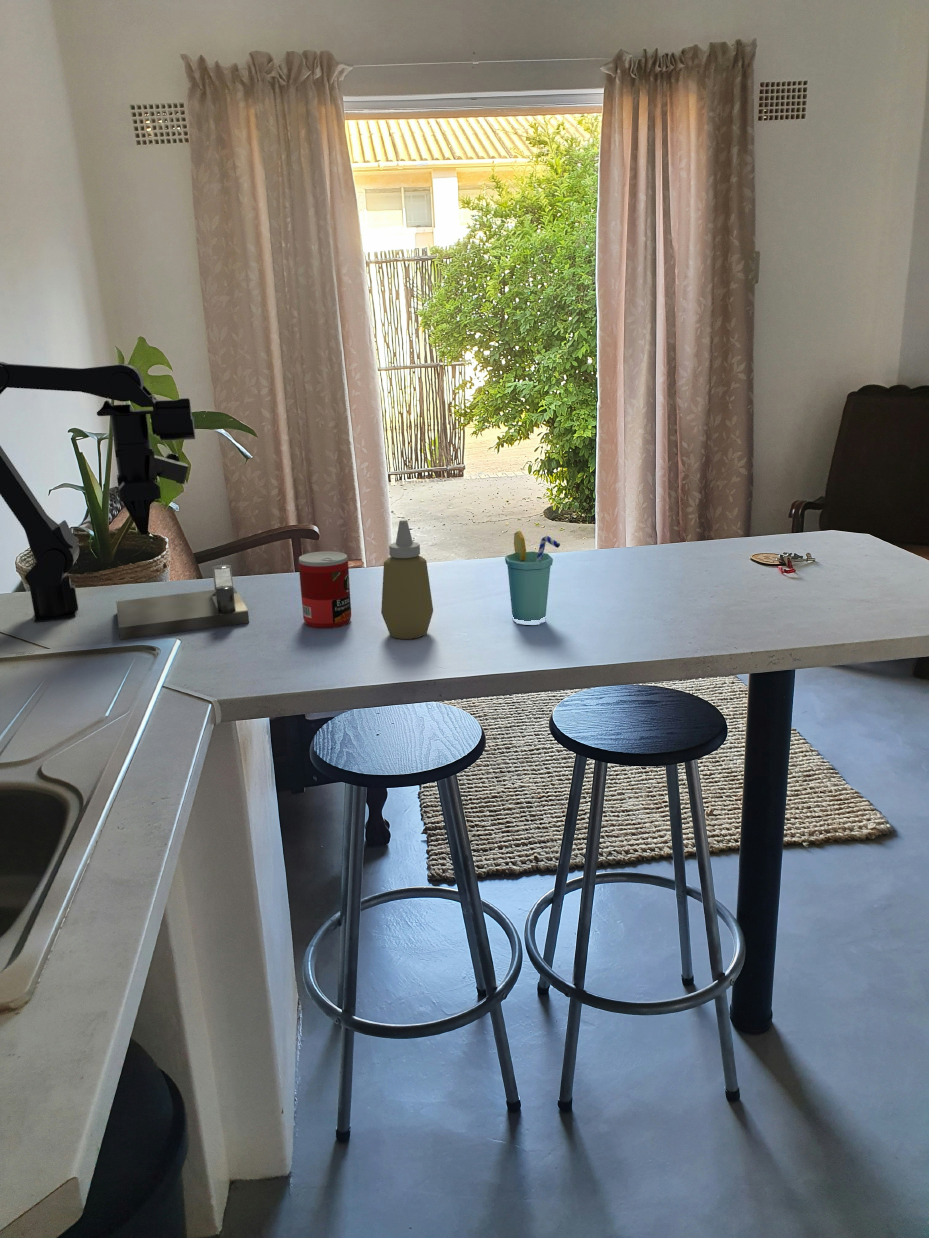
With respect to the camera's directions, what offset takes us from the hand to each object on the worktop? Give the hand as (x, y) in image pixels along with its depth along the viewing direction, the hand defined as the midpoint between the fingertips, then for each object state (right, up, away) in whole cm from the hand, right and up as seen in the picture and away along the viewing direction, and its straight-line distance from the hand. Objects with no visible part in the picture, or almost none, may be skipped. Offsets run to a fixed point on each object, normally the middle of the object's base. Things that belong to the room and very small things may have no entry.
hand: (144, 534), depth 153 cm
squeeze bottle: (+46, -17, -14) cm, 51 cm away
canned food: (+33, -15, -7) cm, 36 cm away
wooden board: (+7, -14, -3) cm, 16 cm away
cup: (+66, -15, -9) cm, 68 cm away
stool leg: (+14, -11, -2) cm, 18 cm away
